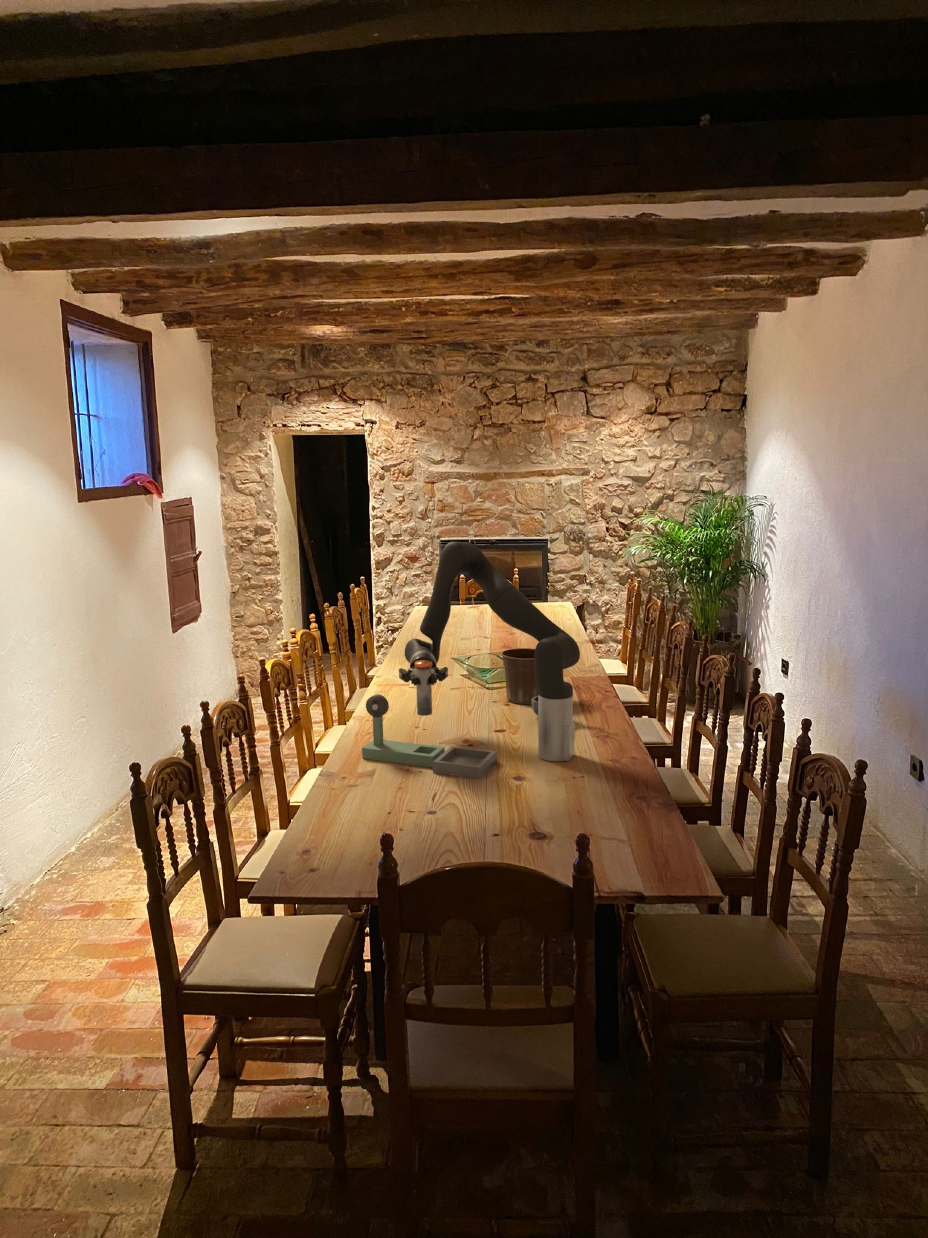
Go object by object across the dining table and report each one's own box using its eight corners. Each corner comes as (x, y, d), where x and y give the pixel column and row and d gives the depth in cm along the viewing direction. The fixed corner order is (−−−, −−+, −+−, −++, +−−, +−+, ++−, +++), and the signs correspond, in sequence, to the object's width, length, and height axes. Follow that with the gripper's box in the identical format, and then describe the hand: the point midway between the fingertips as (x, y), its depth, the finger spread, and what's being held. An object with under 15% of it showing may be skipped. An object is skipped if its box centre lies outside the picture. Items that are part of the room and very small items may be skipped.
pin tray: (496, 762, 227) (496, 751, 227) (480, 779, 215) (479, 767, 215) (451, 756, 232) (451, 745, 231) (433, 772, 220) (432, 761, 219)
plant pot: (549, 693, 292) (550, 647, 289) (549, 707, 277) (550, 658, 274) (502, 692, 294) (502, 647, 291) (500, 706, 278) (499, 658, 275)
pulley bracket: (444, 757, 231) (443, 697, 228) (433, 767, 224) (431, 705, 221) (375, 749, 239) (373, 690, 235) (362, 758, 231) (360, 698, 228)
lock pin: (436, 711, 228) (434, 661, 225) (429, 716, 223) (427, 665, 221) (420, 710, 229) (419, 659, 227) (413, 715, 225) (411, 663, 222)
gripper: (397, 653, 237) (396, 668, 221) (448, 652, 238) (451, 666, 221) (398, 679, 239) (397, 696, 222) (448, 678, 240) (451, 694, 223)
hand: (424, 681), depth 222 cm, fingers closed on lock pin, 4 cm apart
